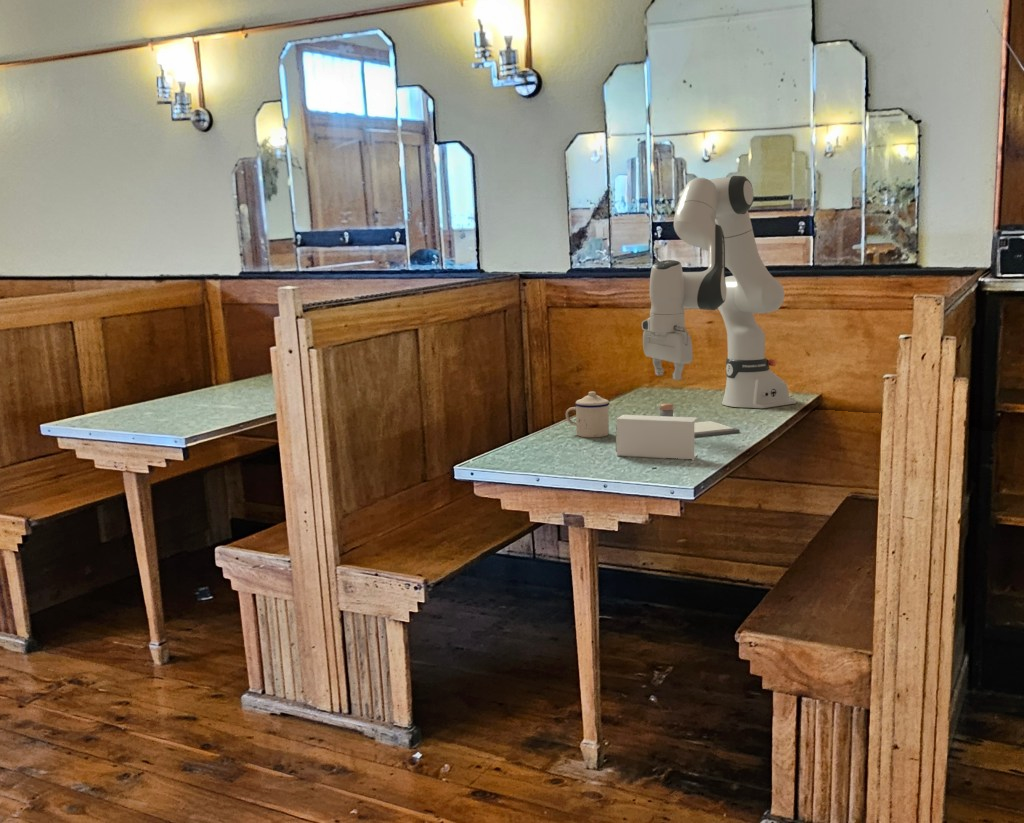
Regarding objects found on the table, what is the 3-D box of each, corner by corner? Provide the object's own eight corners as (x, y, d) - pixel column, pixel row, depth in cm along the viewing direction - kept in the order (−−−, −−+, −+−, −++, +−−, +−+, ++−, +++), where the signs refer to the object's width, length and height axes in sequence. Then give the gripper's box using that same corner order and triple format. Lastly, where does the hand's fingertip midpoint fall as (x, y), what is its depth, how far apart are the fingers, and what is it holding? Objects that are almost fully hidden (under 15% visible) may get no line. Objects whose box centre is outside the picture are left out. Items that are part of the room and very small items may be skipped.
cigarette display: (698, 456, 253) (698, 417, 251) (693, 460, 247) (693, 421, 246) (618, 451, 260) (617, 414, 258) (611, 456, 255) (611, 418, 253)
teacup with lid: (613, 432, 284) (613, 389, 282) (604, 438, 276) (604, 395, 274) (571, 430, 288) (570, 388, 286) (561, 436, 280) (560, 393, 278)
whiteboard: (712, 423, 292) (712, 420, 291) (739, 432, 279) (739, 428, 278) (631, 432, 283) (631, 428, 283) (655, 441, 270) (655, 437, 270)
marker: (669, 430, 278) (669, 403, 276) (675, 433, 275) (675, 405, 273) (657, 432, 277) (657, 404, 275) (663, 434, 273) (663, 406, 272)
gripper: (698, 326, 262) (699, 381, 265) (659, 320, 281) (660, 371, 283) (676, 328, 260) (677, 383, 262) (638, 322, 279) (639, 373, 281)
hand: (668, 377), depth 273 cm, fingers open, 8 cm apart
